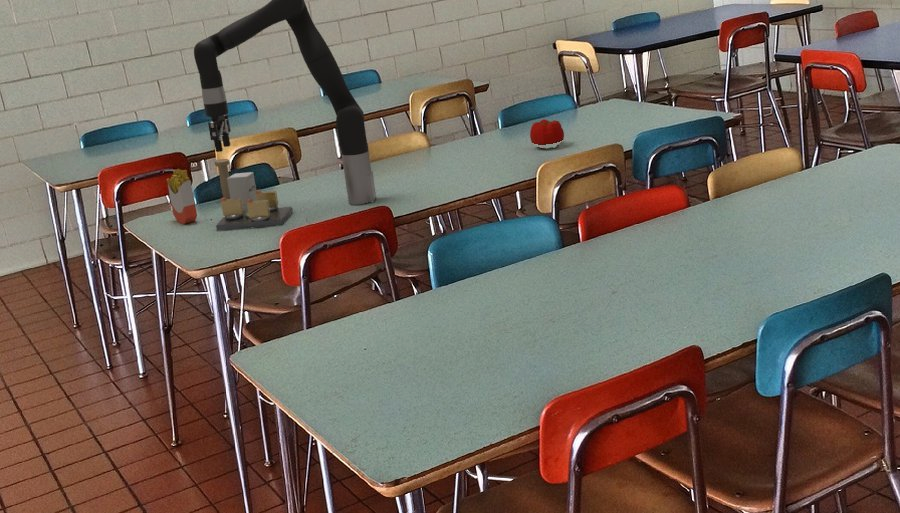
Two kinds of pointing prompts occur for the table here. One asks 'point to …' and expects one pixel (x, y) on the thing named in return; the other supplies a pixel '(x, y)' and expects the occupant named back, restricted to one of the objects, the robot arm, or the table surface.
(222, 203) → the knob
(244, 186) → the supplement box
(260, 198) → the knob
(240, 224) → the base plate
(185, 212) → the french fries container
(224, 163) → the handle
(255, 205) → the knob
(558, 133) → the tomato
